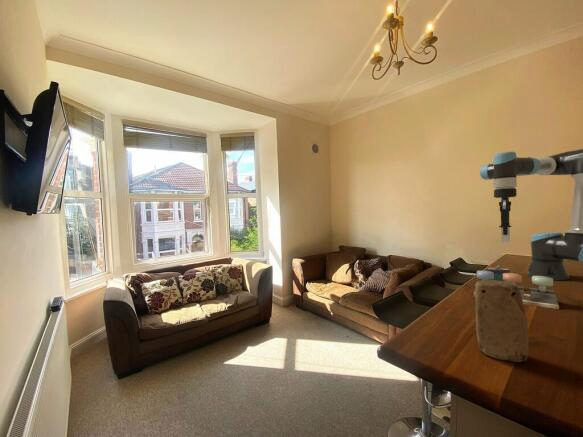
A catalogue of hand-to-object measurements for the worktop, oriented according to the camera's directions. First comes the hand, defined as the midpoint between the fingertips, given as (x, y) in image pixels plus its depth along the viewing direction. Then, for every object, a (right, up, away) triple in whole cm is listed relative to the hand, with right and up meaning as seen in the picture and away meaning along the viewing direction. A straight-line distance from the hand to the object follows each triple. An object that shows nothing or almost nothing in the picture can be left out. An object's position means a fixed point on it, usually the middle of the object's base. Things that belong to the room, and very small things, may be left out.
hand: (505, 242), depth 110 cm
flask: (+6, -23, +10) cm, 26 cm away
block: (-36, -27, -41) cm, 61 cm away
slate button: (-7, -20, +2) cm, 21 cm away
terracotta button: (-1, -19, -4) cm, 20 cm away
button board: (0, -24, -4) cm, 24 cm away
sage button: (+6, -19, -10) cm, 23 cm away
